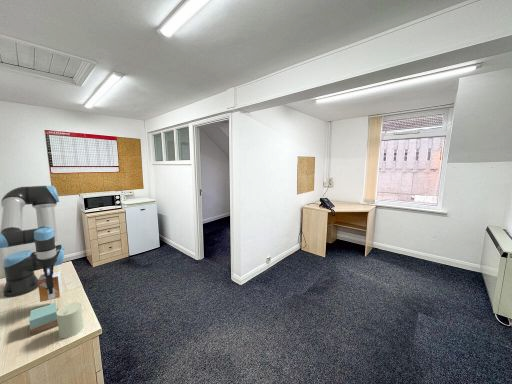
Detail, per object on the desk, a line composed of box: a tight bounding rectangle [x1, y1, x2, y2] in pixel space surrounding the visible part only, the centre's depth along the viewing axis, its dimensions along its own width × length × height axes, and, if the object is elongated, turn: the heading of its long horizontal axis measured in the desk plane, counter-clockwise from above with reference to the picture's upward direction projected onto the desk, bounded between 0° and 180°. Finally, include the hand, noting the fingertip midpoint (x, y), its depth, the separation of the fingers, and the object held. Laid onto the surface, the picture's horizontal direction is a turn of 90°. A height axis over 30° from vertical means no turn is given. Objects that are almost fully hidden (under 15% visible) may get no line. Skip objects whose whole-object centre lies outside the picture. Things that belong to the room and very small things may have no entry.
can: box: [56, 302, 85, 339], centre depth 100 cm, size 9×9×12 cm
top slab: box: [28, 302, 58, 330], centre depth 103 cm, size 9×9×4 cm
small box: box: [37, 270, 63, 303], centre depth 116 cm, size 8×6×13 cm
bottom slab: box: [29, 308, 59, 337], centre depth 104 cm, size 10×10×4 cm
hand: (51, 294), depth 117 cm, fingers closed on small box, 7 cm apart
